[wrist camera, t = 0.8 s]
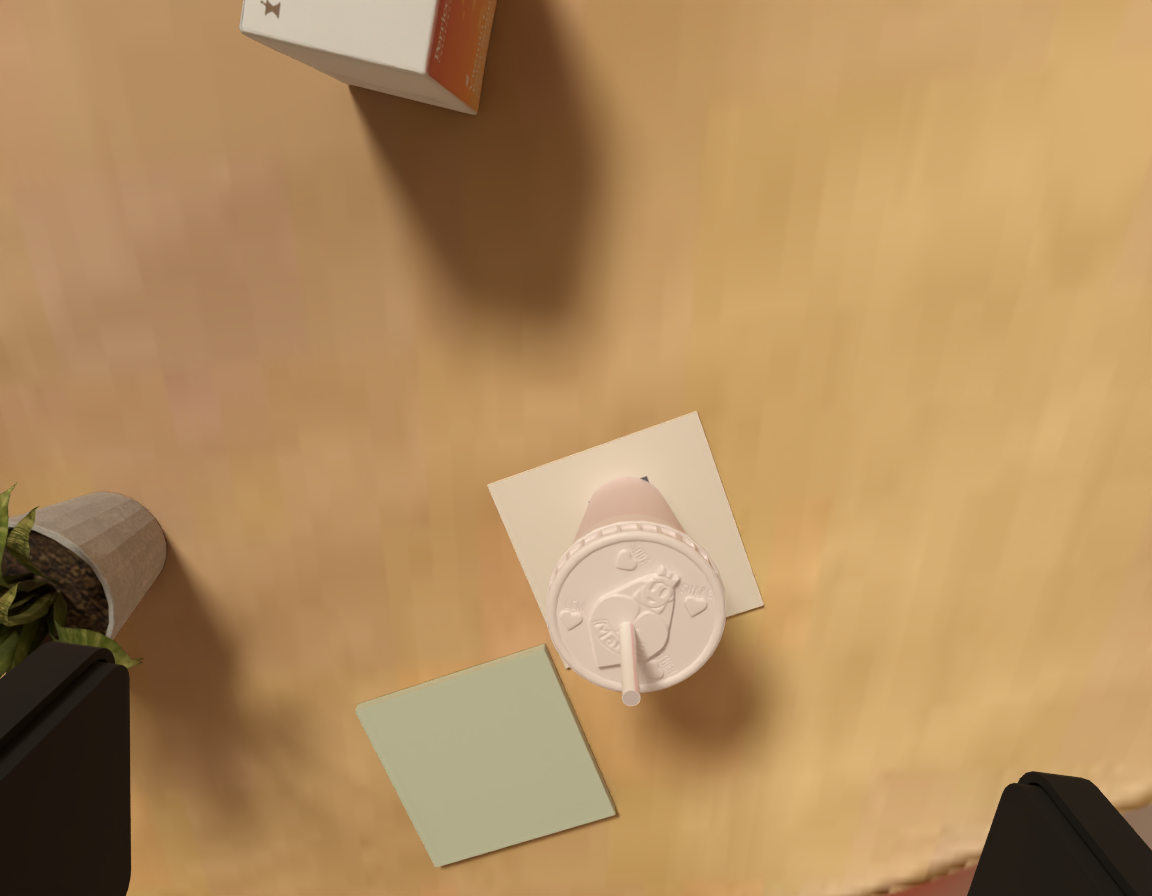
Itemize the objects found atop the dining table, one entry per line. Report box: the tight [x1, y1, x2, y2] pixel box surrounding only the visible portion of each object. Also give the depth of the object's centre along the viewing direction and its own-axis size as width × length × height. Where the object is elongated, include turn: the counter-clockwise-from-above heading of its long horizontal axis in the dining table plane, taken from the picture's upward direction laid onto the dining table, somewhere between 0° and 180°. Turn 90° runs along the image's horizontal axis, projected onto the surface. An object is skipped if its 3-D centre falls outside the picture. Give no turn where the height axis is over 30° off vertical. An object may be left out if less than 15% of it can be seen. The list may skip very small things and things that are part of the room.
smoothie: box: [546, 477, 726, 706], centre depth 32 cm, size 6×6×14 cm
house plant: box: [0, 483, 166, 678], centre depth 32 cm, size 14×14×16 cm
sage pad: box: [355, 644, 616, 868], centre depth 43 cm, size 10×10×1 cm
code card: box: [487, 411, 764, 668], centre depth 39 cm, size 10×10×1 cm
